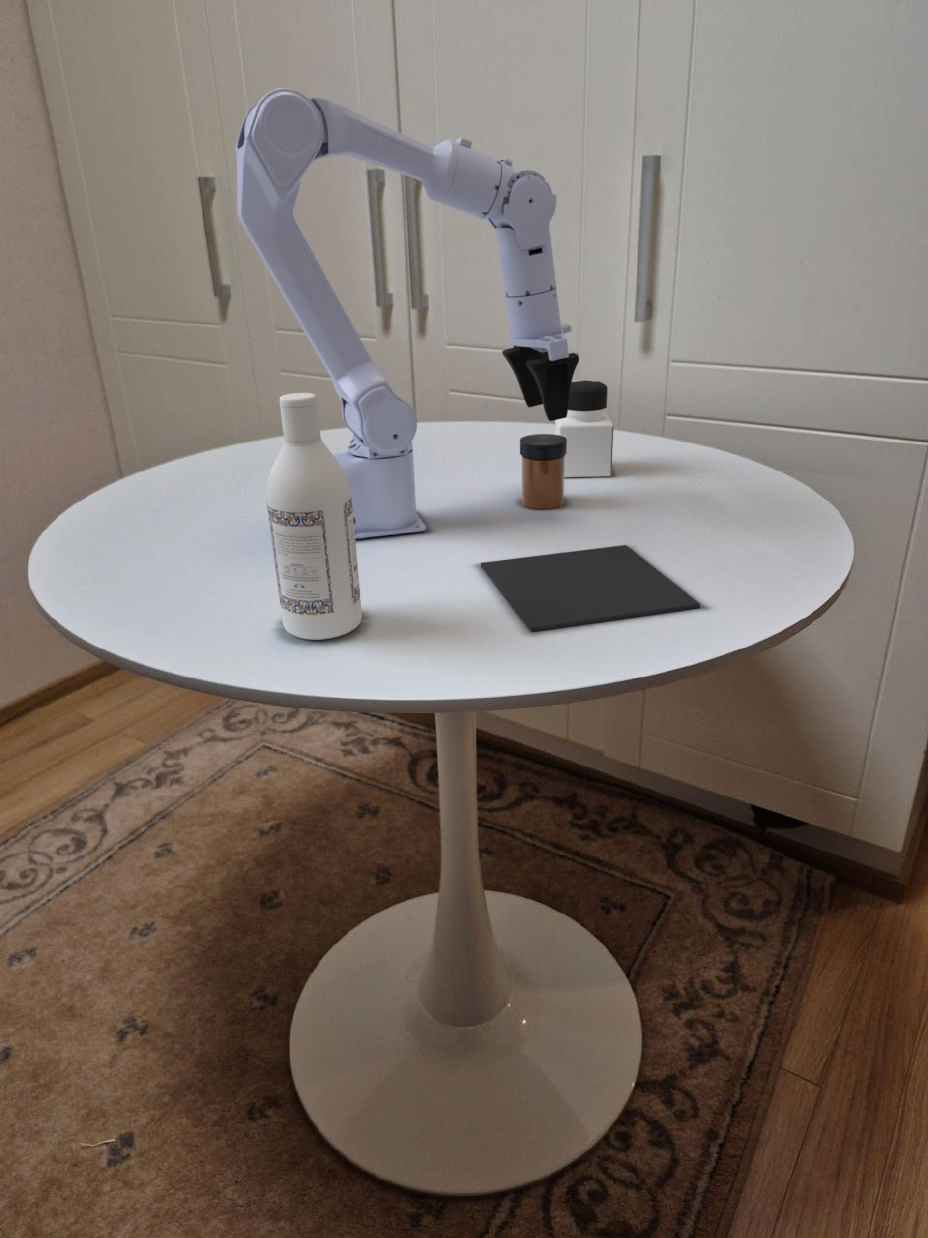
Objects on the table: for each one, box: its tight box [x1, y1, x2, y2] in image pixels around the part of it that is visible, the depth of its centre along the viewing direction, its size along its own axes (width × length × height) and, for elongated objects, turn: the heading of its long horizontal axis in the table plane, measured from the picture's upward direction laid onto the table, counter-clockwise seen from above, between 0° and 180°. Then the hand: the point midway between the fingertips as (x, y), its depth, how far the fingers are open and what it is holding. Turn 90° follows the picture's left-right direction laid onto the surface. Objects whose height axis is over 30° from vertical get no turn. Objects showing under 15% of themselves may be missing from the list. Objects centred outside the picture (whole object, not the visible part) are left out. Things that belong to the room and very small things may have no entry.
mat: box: [480, 544, 701, 632], centre depth 82 cm, size 16×16×1 cm
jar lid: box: [519, 433, 567, 459], centre depth 103 cm, size 6×6×2 cm
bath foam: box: [266, 392, 363, 641], centre depth 72 cm, size 7×7×20 cm
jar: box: [521, 456, 565, 510], centre depth 105 cm, size 5×5×7 cm
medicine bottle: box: [554, 379, 614, 478], centre depth 116 cm, size 7×7×12 cm
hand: (546, 411), depth 101 cm, fingers open, 7 cm apart
